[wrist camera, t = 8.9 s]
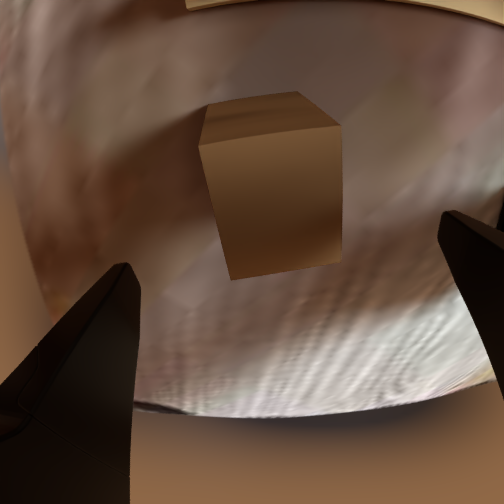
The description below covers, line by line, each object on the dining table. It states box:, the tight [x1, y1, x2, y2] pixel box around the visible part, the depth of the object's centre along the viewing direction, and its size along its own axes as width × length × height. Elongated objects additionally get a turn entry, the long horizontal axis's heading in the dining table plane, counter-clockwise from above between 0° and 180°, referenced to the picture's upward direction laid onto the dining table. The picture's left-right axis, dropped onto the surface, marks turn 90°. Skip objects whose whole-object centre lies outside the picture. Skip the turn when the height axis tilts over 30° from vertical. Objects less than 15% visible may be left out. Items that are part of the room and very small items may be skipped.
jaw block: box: [198, 91, 343, 280], centre depth 12 cm, size 5×4×6 cm
